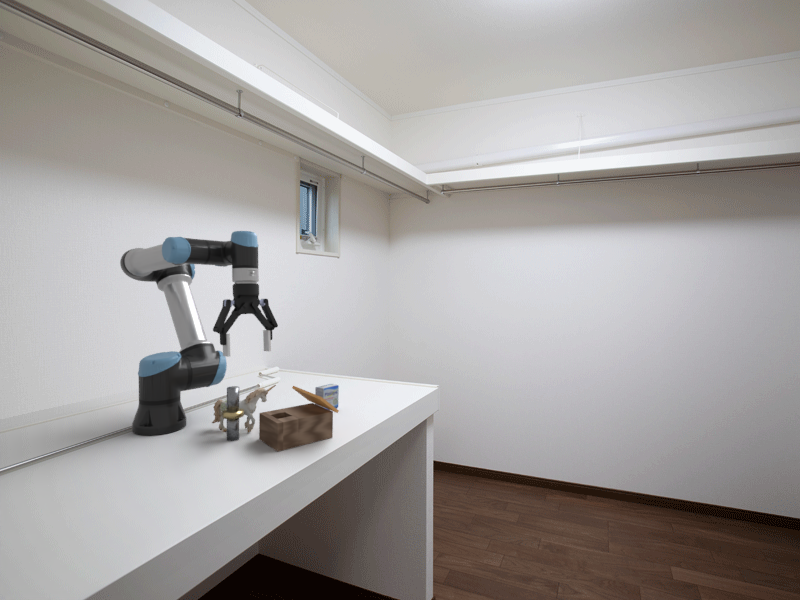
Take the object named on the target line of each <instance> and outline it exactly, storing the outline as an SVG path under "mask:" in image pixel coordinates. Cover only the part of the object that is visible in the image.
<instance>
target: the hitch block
mask: <svg viewBox="0 0 800 600" xmlns="http://www.w3.org/2000/svg"><path fill="white" fill-rule="evenodd" d="M258 418H259V420H258V421H259V422H258V423H259V426H258V427H259V428H258V429H259V432H258V434H259V435H258V437H259V439H258V440H260V441H261V442H262V443H263V444H265V445H267V446H268V447H270V448H271V449H273V450H275V452H278V453H279V452H281V451H285V450H286V451H287V450H290V449H294V448H297V447H301V446H305V445H309V444H313V443H316V442H320V441H324V440H328V439H332V438H333V432H334V431H333V429H334V428H333V427H334V426H333V425H334V424H333V423H334V419H333V418H334V411H332V410H328V409H325V408H323V407H321V406H318V405H316V404H315V403H313V402H310V403H305V404H300V405H295V406H294V405H293V406H290V407H285V408H283V407H282V408H279V409H274V410H269V411H264V412H259V417H258Z"/></svg>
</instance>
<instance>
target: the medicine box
mask: <svg viewBox="0 0 800 600" xmlns="http://www.w3.org/2000/svg"><path fill="white" fill-rule="evenodd" d="M339 387H340V386H339V384H335V383H329V384H328V383H327V384H324V385H319V386H316V387H315V393H314V394H315V395H318V396H320V397H322V398H323V399H325V400H326V401H327V402H329V403H330V404H331V405H332V406H334V407H335V408H336V409H338V408H339V393H340V391H339ZM316 405H318V404H316ZM318 406H320V405H318ZM321 407H322V406H321ZM323 408H325V407H323ZM325 409H327V408H325ZM328 410H329V409H328Z"/></svg>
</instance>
